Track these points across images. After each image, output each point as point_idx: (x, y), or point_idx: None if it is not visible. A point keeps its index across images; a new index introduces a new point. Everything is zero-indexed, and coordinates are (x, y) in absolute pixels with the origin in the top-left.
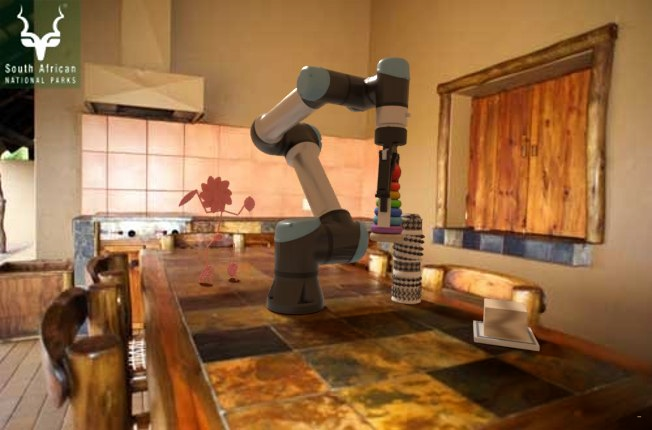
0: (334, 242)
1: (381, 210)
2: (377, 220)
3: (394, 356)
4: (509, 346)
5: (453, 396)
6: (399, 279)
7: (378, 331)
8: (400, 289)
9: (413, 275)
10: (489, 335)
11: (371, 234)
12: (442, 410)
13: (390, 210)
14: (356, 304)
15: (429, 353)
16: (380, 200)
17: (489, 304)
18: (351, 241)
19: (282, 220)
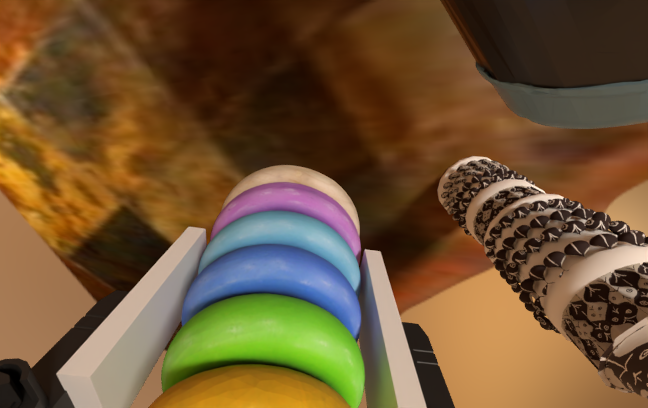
0: None
1: (105, 305)
2: (211, 240)
3: (150, 169)
4: None
5: (81, 227)
6: (469, 192)
7: (245, 140)
8: (461, 185)
9: (468, 228)
10: None
11: (251, 179)
12: (45, 215)
13: (164, 343)
14: (417, 76)
15: (186, 212)
16: (38, 364)
17: None
18: (489, 41)
19: None
